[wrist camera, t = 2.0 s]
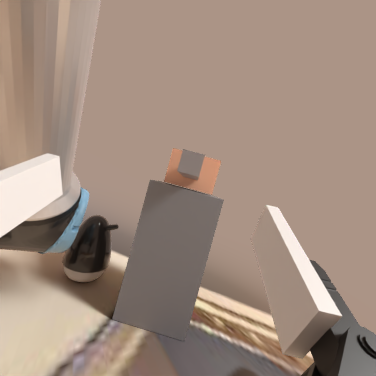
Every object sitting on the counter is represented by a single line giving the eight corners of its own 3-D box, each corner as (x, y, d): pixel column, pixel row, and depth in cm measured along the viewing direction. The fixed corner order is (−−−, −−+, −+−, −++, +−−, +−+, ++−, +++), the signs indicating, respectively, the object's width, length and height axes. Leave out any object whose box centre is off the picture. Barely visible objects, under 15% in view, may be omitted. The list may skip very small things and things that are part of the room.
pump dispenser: (89, 294, 42) (107, 225, 42) (46, 278, 43) (64, 211, 43) (113, 274, 52) (128, 219, 52) (78, 262, 53) (93, 208, 53)
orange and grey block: (220, 198, 26) (234, 147, 26) (147, 178, 26) (161, 127, 26) (209, 193, 48) (216, 165, 48) (169, 182, 48) (176, 154, 48)
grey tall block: (184, 341, 36) (223, 199, 36) (112, 319, 37) (150, 179, 37) (187, 303, 48) (216, 196, 48) (132, 287, 49) (161, 181, 49)
